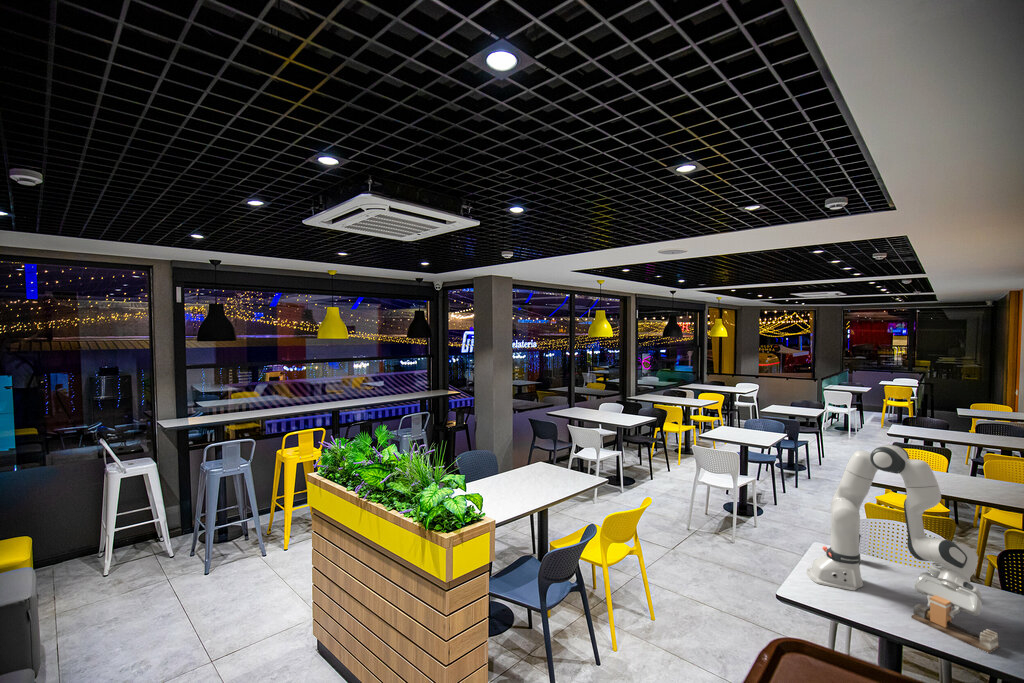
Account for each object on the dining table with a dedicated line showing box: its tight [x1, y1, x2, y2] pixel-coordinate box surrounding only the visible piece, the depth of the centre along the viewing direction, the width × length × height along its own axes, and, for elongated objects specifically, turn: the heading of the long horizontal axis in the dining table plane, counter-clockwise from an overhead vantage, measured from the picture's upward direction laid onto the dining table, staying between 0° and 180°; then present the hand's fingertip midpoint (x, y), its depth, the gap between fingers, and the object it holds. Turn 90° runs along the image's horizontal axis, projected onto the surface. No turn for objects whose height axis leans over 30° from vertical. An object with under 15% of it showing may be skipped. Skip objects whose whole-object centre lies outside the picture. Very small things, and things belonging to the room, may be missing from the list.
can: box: [928, 562, 943, 576], centre depth 215 cm, size 8×8×12 cm
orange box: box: [930, 595, 953, 628], centre depth 189 cm, size 5×4×10 cm
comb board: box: [910, 603, 1000, 654], centre depth 186 cm, size 24×8×6 cm, turn 25°
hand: (939, 611), depth 189 cm, fingers closed on orange box, 5 cm apart
